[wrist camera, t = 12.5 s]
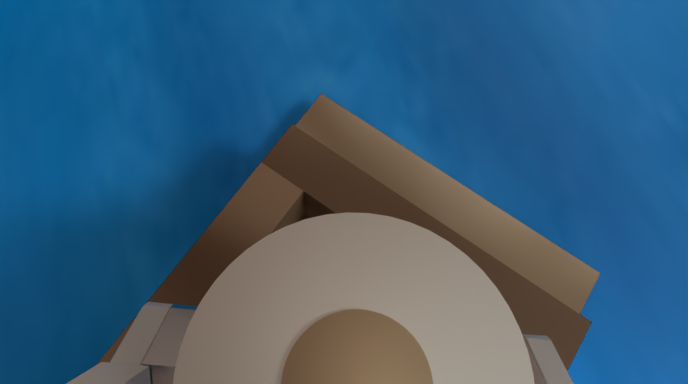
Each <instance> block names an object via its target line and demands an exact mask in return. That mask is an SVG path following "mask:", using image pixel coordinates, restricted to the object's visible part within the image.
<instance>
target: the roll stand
mask: <svg viewBox="0 0 688 384" xmlns="http://www.w3.org/2000/svg"><path fill="white" fill-rule="evenodd" d="M347 212H350V213H372V214H378V215H384V216H390V217H394V218H397V219H401V220H404V221H408V222H411V223H413V224H416V225H418V226H420V227H423V228H425V229H427V230H430V231H431V232H433V233H435V234H437V235H438V236H440V237H442V238H444V239H445V240H447V241H449V242H450V243H451V244H453V245H454V246H455V247H457V248H458V249H459V250H461V251H462V252H463V253H465V254H466V255H467V256H468V257H469V258H470V259H471V260H472V261H473V262H474V263H475V264H477V265H478V266H479V267H480V268H481V269H482V270H483V271H484V273H485V274H486V275H487V276H488V277H489V279H490V280H491V281H492V282H493V284H494V285H495V286H496V287H497V289H498V290H499V292H500V293H501V295H502V296H503V298H504V299H505V301H506V303H507V304H508V306H509V307H510V309H511V311H512V313H513V315H514V317H515V319H516V321H517V324H518V326H519V328H520V330H521V333H522V334H528V335H543V336H547V337H548V338H550V339H551V341H552V343H553V345H554V347H555V349H556V351H557V352H558V354H559V356H560V358H561V360H562V362H563V364H564V366H565V368H566V370H567V371H568V369H569V367H570V365H571V363H572V361H573V359H574V357H575V355H576V353H577V351H578V349H579V347H580V345H581V343H582V341H583V339H584V337H585V335H586V333H587V331H588V329H589V327H590V325H591V321H590V320H588V319H586V318H585V317H583V316H582V315H580V313H581V311H582V309H583V307H584V305H585V303H586V301H587V299H588V297H589V295H590V293H591V291H592V289H593V287H594V285H595V283H596V281H597V279H598V277H599V275H600V273H599V272H598V271H596V270H594V269H593V268H591V267H590V266H588V265H587V264H585V263H584V262H582V261H580V260H579V259H577V258H576V257H574V256H573V255H571V254H570V253H568V252H566V251H565V250H563V249H562V248H560V247H559V246H557V245H556V244H554V243H553V242H551V241H549V240H548V239H546V238H545V237H543V236H542V235H540V234H539V233H537V232H535V231H534V230H532V229H531V228H529V227H528V226H526V225H525V224H523V223H521V222H520V221H518V220H517V219H515V218H514V217H512V216H511V215H509V214H508V213H506V212H504V211H503V210H501V209H500V208H498V207H497V206H495V205H494V204H492V203H490V202H489V201H487V200H486V199H484V198H483V197H481V196H480V195H478V194H476V193H475V192H473V191H472V190H470V189H469V188H467V187H466V186H464V185H463V184H461V183H459V182H458V181H456V180H455V179H453V178H452V177H450V176H449V175H447V174H445V173H444V172H442V171H441V170H439V169H438V168H436V167H435V166H433V165H431V164H430V163H428V162H427V161H425V160H424V159H422V158H421V157H419V156H418V155H416V154H414V153H413V152H411V151H410V150H408V149H407V148H405V147H404V146H402V145H400V144H399V143H397V142H396V141H394V140H393V139H391V138H390V137H388V136H386V135H385V134H383V133H382V132H380V131H379V130H377V129H376V128H374V127H372V126H371V125H369V124H368V123H366V122H365V121H363V120H362V119H360V118H359V117H357V116H355V115H354V114H352V113H351V112H349V111H348V110H346V109H345V108H343V107H341V106H340V105H338V104H337V103H335V102H334V101H332V100H331V99H329V98H327V97H326V96H324V95H323V94H321V95H320V96H319V97H318V98H317V100H316V101H315V102H314V103H313V104H312V106H311V107H310V108H309V109H308V111H307V112H306V113H305V114H304V116H303V117H302V118H301V119H300V120H299V122H298V123H297V124H296V125H295V126H294V125H293V124H292V125H291V126H290V127H289V129H288V130H287V131H286V132H285V134H284V135H283V136H282V137H281V138H280V140H279V141H278V142H277V143H276V145H275V146H274V147H273V148H272V149H271V151H270V152H269V153H268V154H267V156H266V157H265V158H264V159H263V161H262V162H261V163H260V164H259V165H258V167H257V168H256V169H255V170H254V172H253V173H252V174H251V175H250V176H249V178H248V179H247V180H246V181H245V183H244V184H243V185H242V186H241V188H240V189H239V190H238V191H237V192H236V194H235V195H234V196H233V197H232V199H231V200H230V201H229V202H228V203H227V205H226V206H225V207H224V208H223V210H222V211H221V212H220V213H219V215H218V216H217V217H216V218H215V219H214V221H213V222H212V223H211V224H210V226H209V227H208V228H207V229H206V230H205V232H204V233H203V234H202V235H201V237H200V238H199V239H198V240H197V242H196V243H195V244H194V245H193V246H192V248H191V249H190V250H189V251H188V253H187V254H186V255H185V256H184V257H183V259H182V260H181V261H180V262H179V264H178V265H177V266H176V267H175V268H174V270H173V271H172V272H171V273H170V275H169V276H168V277H167V278H166V280H165V281H164V282H163V283H162V284H161V286H160V287H159V288H158V289H157V291H156V292H155V293H154V294H153V295H152V297H151V298H150V299H149V300H148V302H157V303H167V304H173V305H174V304H180V305H189V306H198V305H199V304H200V302H201V300H202V299H203V297H204V296H205V294H206V293H207V292H208V290H209V289H210V287H211V286H212V284H213V283H214V282H215V280H216V279H217V278H218V277H219V276H220V275H221V274H222V272H223V271H224V270H225V269H226V268H227V267H228V266H229V265H230V264H231V263H232V262H233V261H234V260H235V259H236V258H238V257H239V256H240V255H241V254H242V253H243V252H244V251H245V250H247V249H248V248H249V247H251V246H252V245H254V244H255V243H257V242H258V241H260V240H261V239H263V238H264V237H266V236H268V235H270V234H272V233H273V232H275V231H277V230H279V229H281V228H283V227H285V226H288V225H291V224H294V223H296V222H299V221H302V220H304V219H308V218H313V217H317V216H322V215H326V214H336V213H347ZM137 315H138V314H137ZM137 315H136V316H135V318H136V317H137ZM135 318H134V319H133V320H132V321H131V322H130V324H129V325H128V326H127V327H126V329H125V330H124V331H123V332H122V334H121V335H120V336H119V337H118V338H117V340H116V341H115V342H114V343H113V345H112V346H111V347H110V348H109V349H108V351H107V352H106V353H105V354H104V356H103V357H102V358H101V359H100V361H99V362H98V363H97V364H99V363H101V362H108V363H110V361H111V359H112V357H113V356H114V354H115V352H116V351H117V349H118V347H119V345H120V344H121V342H122V340H123V339H124V337H125V335H126V334H127V332H128V330H129V328H130V327H131V325H132V323H133V322H134V320H135ZM97 364H96V365H97ZM96 365H95V366H96Z"/></svg>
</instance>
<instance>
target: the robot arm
mask: <svg viewBox="0 0 688 384" xmlns="http://www.w3.org/2000/svg"><path fill="white" fill-rule="evenodd" d="M197 307H198V306H189V305H180V304H174V305H173V304H167V303H157V302H147V303H146V304H145V305H143V306H142V308H141V310H140V311H139V313H138V315H137V317H136V318H135V320H134V322H133V323H132V325H131V327H130V328H129V330H128V332H127V334H126V335H125V337H124V339H123V340H122V342H121V344H120V345H119V347H118V349H117V351H116V352H115V354H114V356H113V357H112V359H111V361H110V363H108V362H101V363H99V364H97V365H96V366H94V367H92V368H91V369H89V370H87V371H86V372H84V373H82V374H81V375H79V376H78V377H76V378H74V379H73V380H71V381H69V382H68V383H66V384H173V378H174V371H175V367H176V363H177V358H178V354H179V350H180V346H181V344H182V341H183V338H184V336H185V333H186V330H187V328H188V325H189V323H190V321H191V319H192V317H193V315H194V313H195V311H196V309H197ZM522 335H523V338H524V341H525V344H526V347H527V350H528V353H529V357H530V362H531V366H532V371H533V375H534V383H535V384H573V382H572V380H571V378H570V376H569V374H568V372H567V370H566V368H565V366H564V364H563V362H562V360H561V358H560V356H559V354H558V352H557V351H556V349H555V347H554V345H553V343H552V341H551V339H550V338H548V337H547V336H543V335H528V334H522Z"/></svg>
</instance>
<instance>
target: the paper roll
mask: <svg viewBox="0 0 688 384" xmlns="http://www.w3.org/2000/svg"><path fill="white" fill-rule="evenodd" d="M173 384H535V383H534V375H533V371H532V366H531V362H530V357H529V353H528V350H527V347H526V344H525V341H524V338H523V335H522V333H521V330H520V328H519V326H518V324H517V321H516V319H515V317H514V315H513V313H512V311H511V309H510V307H509V306H508V304H507V303H506V301H505V299H504V298H503V296H502V295H501V293H500V292H499V290H498V289H497V287H496V286H495V285H494V284H493V282H492V281H491V280H490V279H489V277H488V276H487V275H486V274H485V273H484V271H483V270H482V269H481V268H480V267H479V266H478V265H477V264H475V263H474V262H473V261H472V260H471V259H470V258H469V257H468V256H467V255H466V254H465V253H463V252H462V251H461V250H459V249H458V248H457V247H455V246H454V245H453V244H451V243H450V242H449V241H447V240H445V239H444V238H442V237H440V236H438V235H437V234H435V233H433V232H431V231H430V230H427V229H425V228H423V227H420V226H418V225H416V224H413V223H411V222H408V221H404V220H401V219H397V218H394V217H390V216H384V215H378V214H372V213H350V212H347V213H336V214H326V215H322V216H317V217H313V218H308V219H304V220H302V221H299V222H296V223H294V224H291V225H288V226H285V227H283V228H281V229H279V230H277V231H275V232H273V233H272V234H270V235H268V236H266V237H264V238H263V239H261V240H260V241H258V242H257V243H255V244H254V245H252V246H251V247H249V248H248V249H247V250H245V251H244V252H243V253H242V254H241V255H240V256H239V257H238V258H236V259H235V260H234V261H233V262H232V263H231V264H230V265H229V266H228V267H227V268H226V269H225V270H224V271H223V272H222V274H221V275H220V276H219V277H218V278H217V279H216V280H215V282H214V283H213V284H212V286H211V287H210V289H209V290H208V292H207V293H206V294H205V296H204V297H203V299H202V300H201V302H200V304H199V305H198V307H197V309H196V311H195V313H194V315H193V317H192V319H191V321H190V323H189V325H188V328H187V330H186V333H185V336H184V338H183V341H182V344H181V346H180V350H179V354H178V358H177V363H176V367H175V371H174V378H173Z"/></svg>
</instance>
